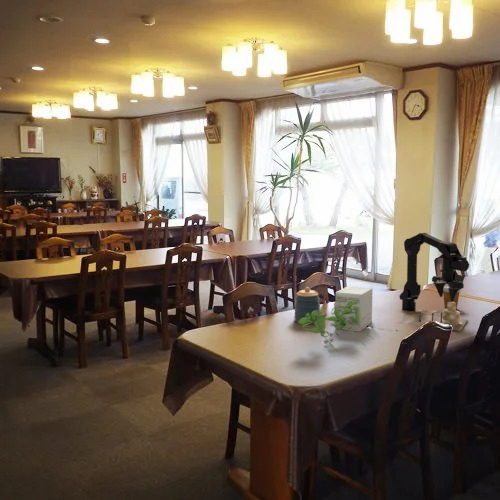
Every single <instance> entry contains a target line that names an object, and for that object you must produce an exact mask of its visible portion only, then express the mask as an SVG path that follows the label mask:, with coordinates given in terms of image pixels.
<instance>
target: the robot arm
mask: <svg viewBox="0 0 500 500" xmlns="http://www.w3.org/2000/svg"><path fill="white" fill-rule="evenodd" d="M424 244H427V245H429V246H431V247H433V248H436V249H437V250H438V252H439V253H441V255H440V256H439V257H438V258H439V259H442V260H441V261H442V263H441V264H442V265H441V267H442V268H441V269H440V270H439V272H440V273H441V275H434V276H432V278H431V282H432V283H433V284H434V287H435V288H436V291H437V293H438V295H439V298H442V297H444V296H443V289H444V286H446V285H447V286H449V287H450V288H448V290H449V295H450V300H451V301H453V300H454V298H455V296H456V293H457V292H458V291H459V290H460V291H461V290H462V289H464V288H465V287H464V286H465V285H464V280H465V279H466V277H465V276H463V275H461V274H459V273H458V272H457V271H460V272H463V273H464V272H467V271H468V270H469V268H470V262H469V261H468V260H467V257H466V256H463V255H462V254H461V252H460V250H459V247H458V245H457V243H456V242H451V241H445V240H442V239H439V238H437V237H435V236H433V235H430V234H428V233H427V232H419V233H418V234H416V235H414V236H411V237H409V238H406V239H405V240H404V242H403V246H404V251H405V253H406V255H407V257H406V258H407V260H406V261H407V265H406V266H407V268H406V269H407V270H406V282H405V284H404V285H403V291H402V292H401V293H400V294H399V300H401V301H402V303H401V311H406V312H413V313H414V312H415V311H416V310H417V302H416V300H418V299H419V296H420V294H421V292H422V291H421V288H422V287H421V284H419V283H418V281H417V280H418V278H417V277H418V273H417V272H418V254H419V252H420V251H421V246H422V245H424Z"/></svg>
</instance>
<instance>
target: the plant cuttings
mask: <svg viewBox="0 0 500 500" xmlns="http://www.w3.org/2000/svg"><path fill="white" fill-rule="evenodd" d="M338 304H339V306H340V305H341V304H340V303H338ZM354 304H357V302H353V303H351V302H349V303H347V304H346V307H345V306H343V308H344V309H345V311H342V312H341V313H342V314H341V313H340V312H339V311H338V310H337V307H336V305H337V304H336V303H334V307H333V308H332V310H331V312H330V314H331V315H332V316H329V317H327V312H325V313H324V314H323V313H322V312H323V311H325V310H326V309H327V308H328V305H324V306H322V308H320V309H321V310H320V315H319V314H318V313H319V312H318V310H315V311H313V312H312V313H311V315H310V314H309V313H307V314H306V316H308V318H307V317H304V318H301V319H300V320H299V321H298V322H297V324H300V325H302V326H301V327H302V329H303V330H305V331H307V332H309V333H312V334H320V336H321V337H323V338H325V340H324V341H323V343H324V344H325V345H327V346H328V345H330V346H332V348H333V349H334V350H335V351H336V352H338V350H337V349H336V348H335V347H334V346H333V345H332V343H333V342H334V340H335V337H337V336H338V335H339V334H340V330H343V329H342V328H343V327H345V326H346V327H347V326H349V325H347V322H348V321H349V320H348V321H347V322H345V319H344V317H343V316H344V315H346V314H350V313H351V312H352V308H354V309H355V307H356V306H352V305H354ZM339 306H338V307H339ZM344 309H342V310H344ZM332 311H334V312H332ZM333 315H334V316H333ZM316 318H317V320H316ZM315 320H316V321H315ZM326 320H327V321H328V322H330V321H331V322H332V323H330V327H334V328H335V329H336V330H335V331H334V332H329V331H325V329H326ZM336 321H337V322H340V323H339V324H337V323H336ZM351 321H352V323H359V312H358V306H357V307H356V309H355V316H351ZM311 323H313V324H314V327H307V328H306V326H307V325H312V324H311ZM335 324H337V325H335ZM358 325H359V324H358ZM359 326H360V325H359ZM304 327H305V328H304ZM349 328H350V327H349ZM349 328H348V329H349ZM351 328H352V325H351ZM351 328H350V329H351ZM348 329H347V330H346V331H350V332H351V333H352V334H353V335H354V336H355V337H356V338H357V340H359V342H362V341H361V339H360V338H359V337H358V336H357V335H356V334H355V333H354V331H351V330H350V329H349V330H348ZM361 329H362V328H361ZM338 330H339V331H338ZM362 332H363V333H364V334H365V335H366V336H367V337H368V338H370V339H373V340H375V338H373V337H371V336H370V335H368V334H367V333H366V332H365V330H364V329H362ZM326 334H327V335H326ZM327 337H329V339H328V338H327ZM362 345H363V346H364V347H365V348H367V346H366V345H365V343H362Z"/></svg>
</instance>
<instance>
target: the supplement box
mask: <svg viewBox="0 0 500 500" xmlns="http://www.w3.org/2000/svg"><path fill="white" fill-rule="evenodd" d="M349 302H351V303H353V302H357V304H354V305H352V306H356V307H357V306H358V312H359V323H352V321H351V316H355V309H356V307H355V309H354V308H352V312H351V313H350V314H346V315H344V316H343V317H344V319H345V322H347V321H348V320H349V321H348V322H347V325H349V326H347V327H346V326H345V327H343V328H342V329H341V330H343V329H344V330H345V331H350V330H352V332H358V331H359V332H363V330H365V329H367V328H368V327H369V326H368V325H370V324H371V323H372V322H373V288H371V287H365V286H363V287H362V286H353V285H352V286H351V285H348V286H345V287H343V288H342V289H340V290H338V291H337V290H336V292H335V305H336V304H337V305H336V307H337V310H338V311H339V312H340V313H341V312H342V311H345V309H344V308H343V306H345V307H346V304H347V303H349ZM338 303H340V304H341V305H340V306H339V304H338ZM338 306H339V307H338ZM342 309H344V310H342ZM341 314H342V313H341ZM336 323H337V324H339V323H340V322H337V321H336ZM337 324H335V325H337ZM358 324H359V325H360V326H359V325H358ZM351 325H352V328H351ZM349 327H350V328H351V329H350V328H349ZM348 328H349V329H350V330H349V329H348ZM361 328H362V329H363V330H362V329H361ZM347 329H348V330H347ZM359 332H358V333H359Z"/></svg>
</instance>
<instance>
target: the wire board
mask: <svg viewBox="0 0 500 500" xmlns="http://www.w3.org/2000/svg"><path fill="white" fill-rule="evenodd" d="M417 312H419V313H418V314H417V313H409V312H407V313H406V314H404V315H403V316H402V317H400V318H399V319H398V320H397V321H396V323H398V324H406V325H413V326H421V327H423V326H422V325H423V324H425V323H426V322H428V321H431V320H432V321H433V320H434V321H438V322H440V323H444V324H449V325H452V327H453V331H452V332H454V331H456V333H461V332H462V330H463V329H464V327H465V326H466V325H467V324H468V322H469V319H463V318H460V323H455V324H452V323H451V320H443V312H444V310H443V309H442V310H426V309H417ZM422 313H429V314H431V315H429V314H428V315H427V314H422ZM439 313H440V316H438V315H434V314H439Z"/></svg>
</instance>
